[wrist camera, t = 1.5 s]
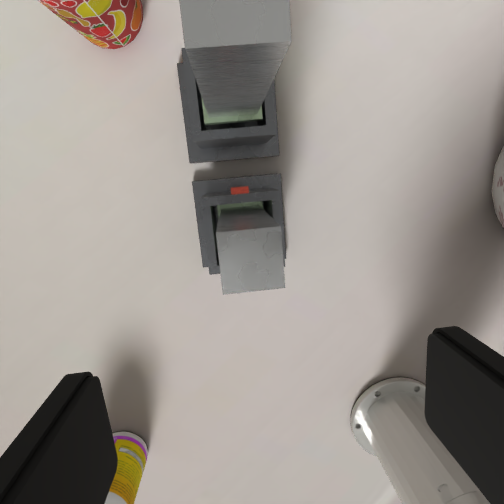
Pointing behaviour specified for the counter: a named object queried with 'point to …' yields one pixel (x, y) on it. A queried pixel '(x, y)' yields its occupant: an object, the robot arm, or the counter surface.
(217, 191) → the stand sleeve
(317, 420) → the counter surface
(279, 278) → the column
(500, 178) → the chamber pot
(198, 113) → the twin stand
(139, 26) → the smoothie
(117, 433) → the supplement bottle
